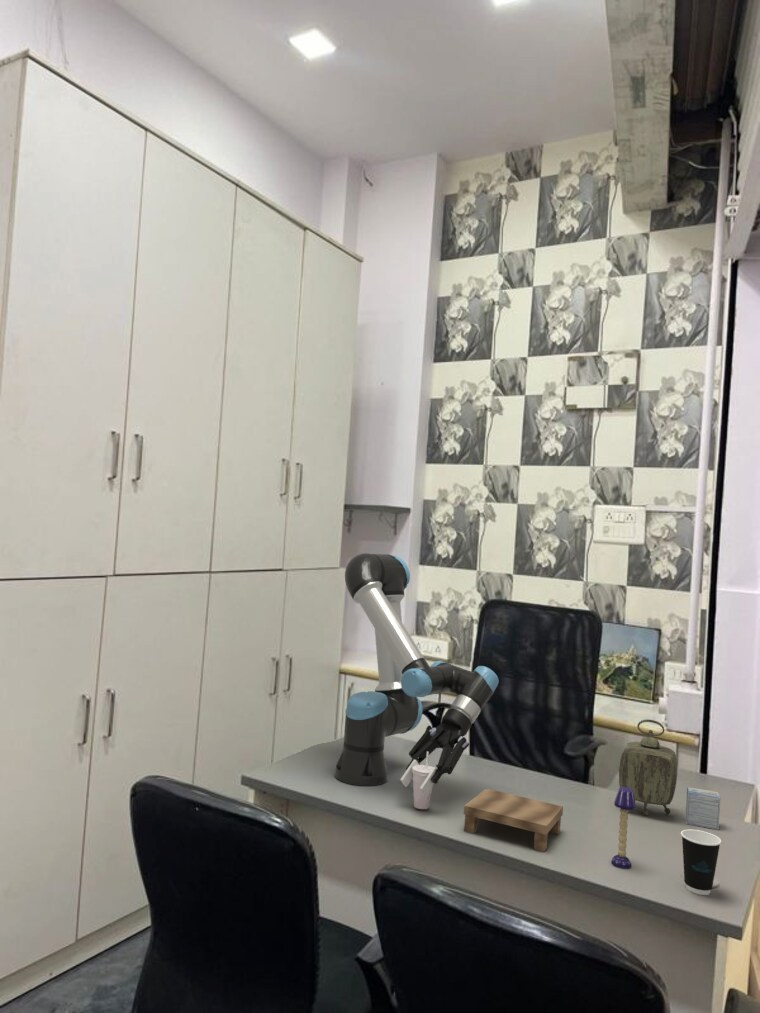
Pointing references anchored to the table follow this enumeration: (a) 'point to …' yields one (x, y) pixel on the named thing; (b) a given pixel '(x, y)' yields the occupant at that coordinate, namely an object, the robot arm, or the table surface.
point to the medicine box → (702, 808)
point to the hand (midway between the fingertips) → (413, 787)
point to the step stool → (514, 814)
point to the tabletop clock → (649, 770)
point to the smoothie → (418, 778)
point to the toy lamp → (623, 824)
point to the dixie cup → (699, 860)
